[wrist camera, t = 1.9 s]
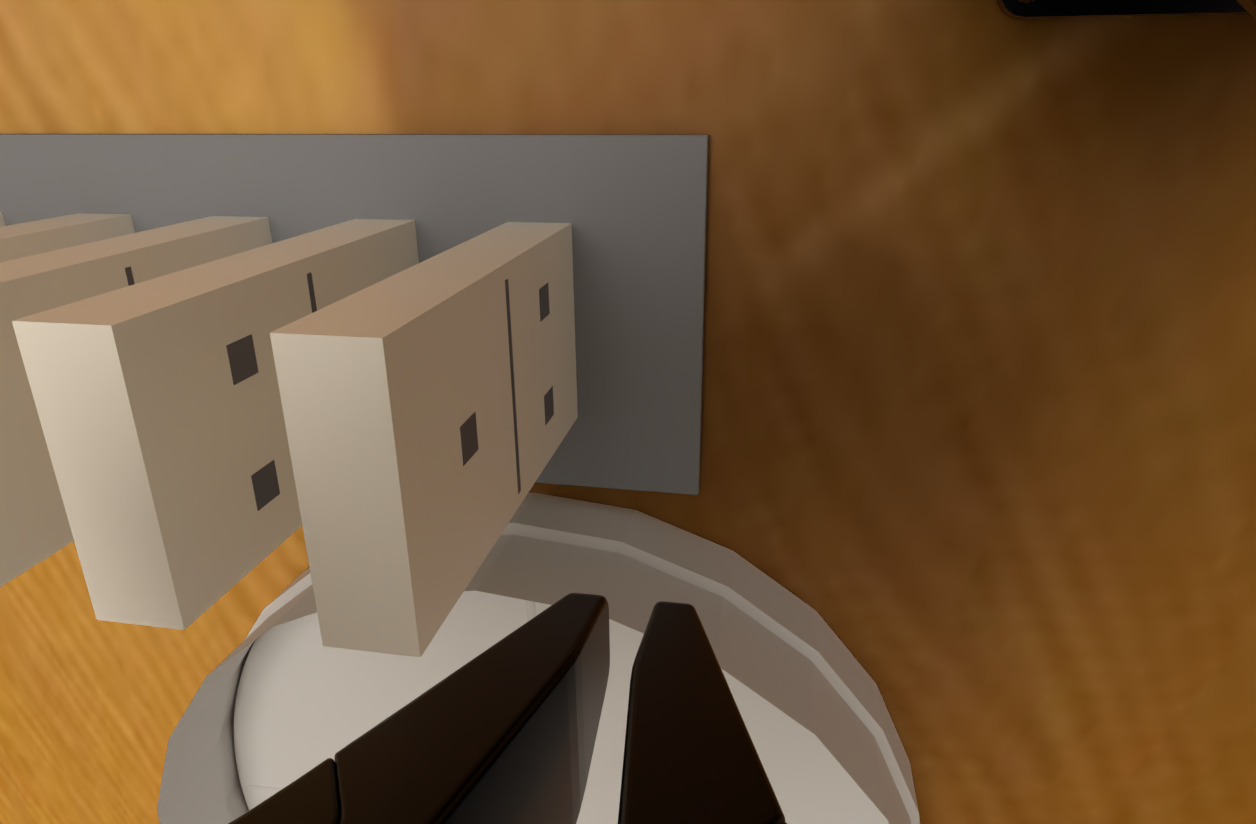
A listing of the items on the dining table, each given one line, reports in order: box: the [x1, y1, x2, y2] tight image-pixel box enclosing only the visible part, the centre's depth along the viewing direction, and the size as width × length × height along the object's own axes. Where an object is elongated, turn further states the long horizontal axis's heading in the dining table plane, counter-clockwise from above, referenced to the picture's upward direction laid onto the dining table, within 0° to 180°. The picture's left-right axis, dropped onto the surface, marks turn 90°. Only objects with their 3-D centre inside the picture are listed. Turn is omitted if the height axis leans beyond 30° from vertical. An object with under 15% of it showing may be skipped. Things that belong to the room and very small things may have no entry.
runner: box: [0, 134, 709, 495], centre depth 22 cm, size 21×9×1 cm, turn 90°
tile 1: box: [270, 222, 578, 657], centre depth 16 cm, size 2×5×10 cm, turn 179°
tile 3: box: [0, 216, 272, 587], centre depth 18 cm, size 2×5×10 cm, turn 179°
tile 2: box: [12, 219, 419, 630], centre depth 17 cm, size 2×5×10 cm, turn 0°
